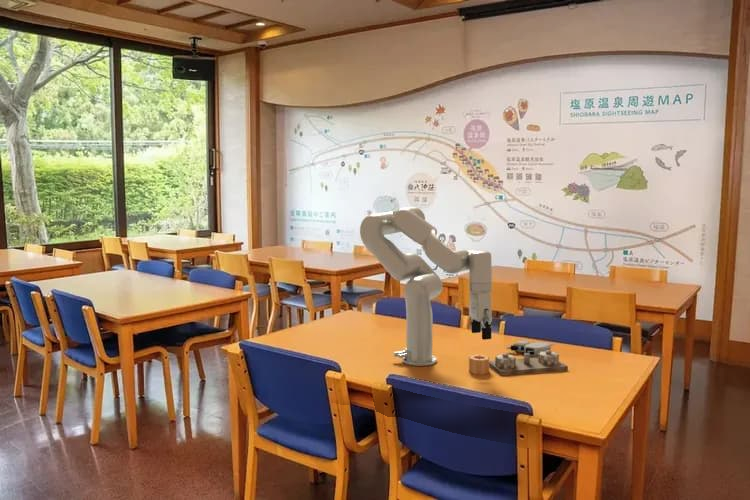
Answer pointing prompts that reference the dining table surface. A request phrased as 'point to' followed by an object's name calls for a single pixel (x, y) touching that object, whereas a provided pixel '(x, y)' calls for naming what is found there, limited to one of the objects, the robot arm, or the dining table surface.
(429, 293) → the robot arm
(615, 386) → the dining table surface
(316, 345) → the dining table surface
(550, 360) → the gear board
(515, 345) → the robot toy
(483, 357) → the orange gear
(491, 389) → the dining table surface
